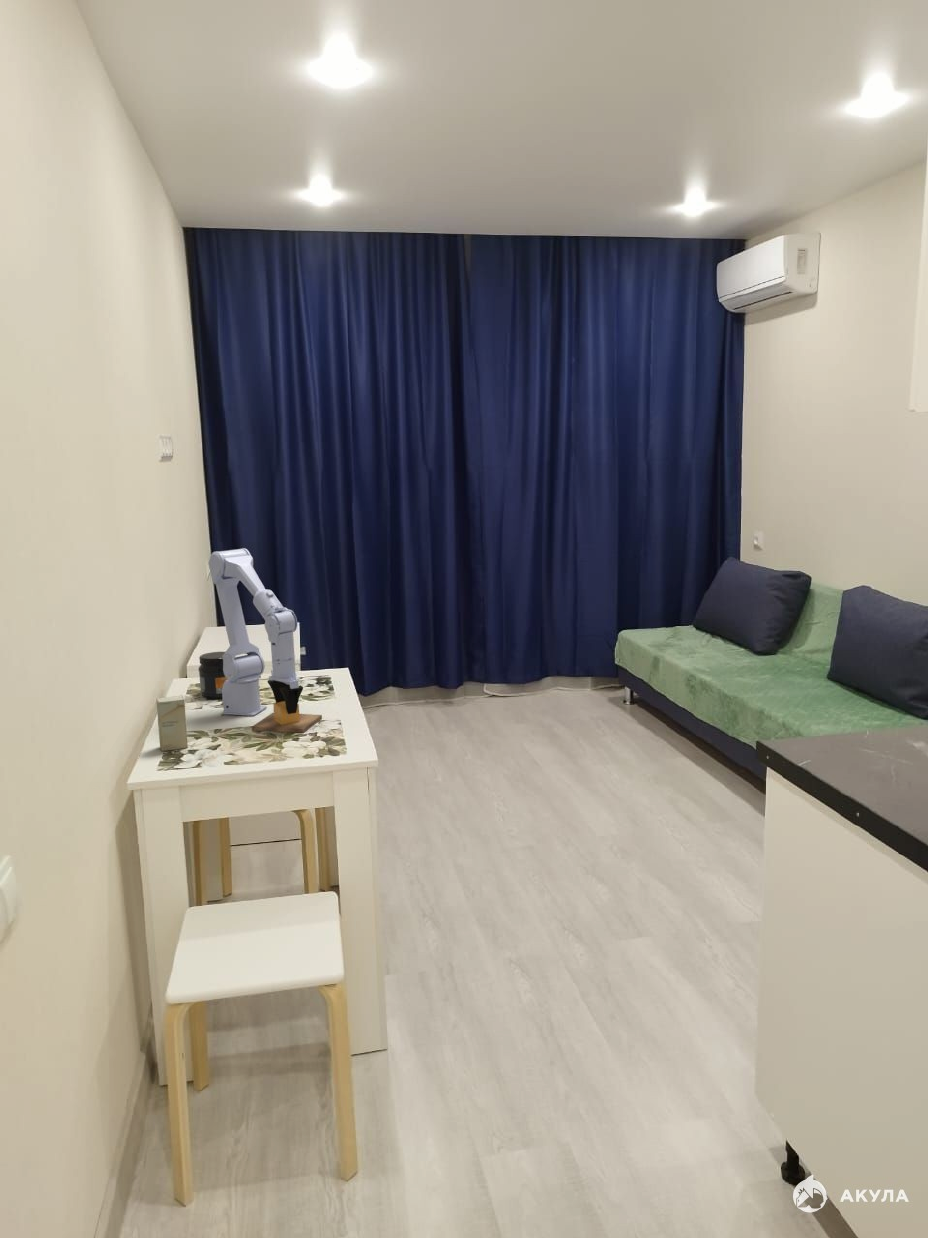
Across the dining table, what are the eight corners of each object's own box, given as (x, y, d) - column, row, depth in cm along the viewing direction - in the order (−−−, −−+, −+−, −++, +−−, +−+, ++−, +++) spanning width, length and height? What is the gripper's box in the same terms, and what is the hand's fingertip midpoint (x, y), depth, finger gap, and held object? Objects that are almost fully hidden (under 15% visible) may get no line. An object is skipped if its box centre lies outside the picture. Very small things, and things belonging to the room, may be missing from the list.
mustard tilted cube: (281, 724, 228) (280, 707, 227) (274, 720, 232) (273, 703, 231) (299, 721, 230) (298, 704, 229) (292, 716, 234) (291, 700, 233)
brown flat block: (252, 730, 227) (251, 715, 226) (273, 716, 239) (271, 701, 238) (303, 732, 224) (302, 717, 223) (322, 718, 235) (321, 704, 235)
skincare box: (161, 752, 213) (156, 702, 210) (159, 746, 217) (155, 698, 214) (189, 747, 215) (184, 699, 213) (186, 742, 219) (182, 694, 217)
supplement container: (243, 695, 259) (240, 655, 257) (207, 702, 253) (204, 661, 251) (230, 688, 268) (227, 649, 266) (195, 694, 262) (192, 654, 260)
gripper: (258, 655, 232) (262, 705, 235) (278, 666, 220) (281, 719, 222) (284, 651, 235) (287, 701, 238) (305, 662, 223) (308, 714, 226)
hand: (286, 709), depth 230 cm, fingers open, 7 cm apart
